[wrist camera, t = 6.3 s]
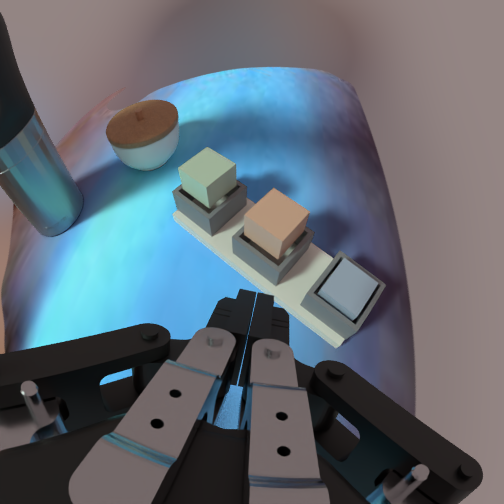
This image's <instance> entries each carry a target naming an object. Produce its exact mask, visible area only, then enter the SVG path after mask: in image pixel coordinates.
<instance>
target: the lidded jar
mask: <svg viewBox="0 0 504 504" xmlns="http://www.w3.org/2000/svg"><path fill="white" fill-rule="evenodd" d="M106 135H107V138H108V140H109V142H110V144H111V146H112V148H113V150H114V152H115V154H116V155H117V157H118V158H119V159H120V160H121V161H122V162H123V163H124V164H126V165H127V166H129V167H131V168H134V169H139V170H142V171H150V170H154V169H157V168H159V167H161V166H163V165H164V164H165V163H166V162H167V161H168V159H169V158H170V157H171V156H172V154H173V153H174V151H175V149H176V147H177V144H178V141H179V122H178V111H177V109H176V107H175V106H174V105H173V104H171V103H170V102H167V101H163V100H147V101H142V102H138V103H135V104H133V105H130V106H128V107H126V108H125V109H123V110H121V111H120V112H118V113H117V114H116V115H115V116H114V117H113V118H112V119H111V120H110V122H109V124H108V126H107V129H106Z"/></svg>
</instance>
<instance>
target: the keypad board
mask: <svg viewBox="0 0 504 504" xmlns="http://www.w3.org/2000/svg"><path fill="white" fill-rule="evenodd" d="M172 193H173V196H174V200H175V203H176V207H177V209H178V210H177V211H176V212H174V213H173V217H174V220H175V222H177V223H178V224H179V225H180V226H182V227H183V228H184V229H185V230H186V231H188V232H189V233H190V234H191V235H193V236H194V237H195V238H196V239H197V240H199V241H200V242H201V243H202V244H204V245H205V246H206V247H207V248H208V249H210V250H211V251H212V252H213V253H215V254H216V255H217V256H218V257H220V258H221V259H222V260H223V261H225V262H226V263H227V264H228V265H230V266H231V267H232V268H233V269H235V270H236V271H237V272H238V273H240V274H241V275H242V276H243V277H245V278H246V279H247V280H248V281H250V282H251V283H252V284H253V285H255V286H256V287H257V288H258V289H260V290H261V291H262V292H264V293H265V294H269V295H274V301H275V302H276V303H278V304H279V305H280V306H281V307H283V308H284V309H285V310H287V311H288V312H289V313H290V314H292V315H293V316H294V317H296V318H297V319H298V320H299V321H301V322H302V323H303V324H305V325H306V326H307V327H309V328H310V329H311V330H312V331H314V332H315V333H316V334H318V335H319V336H320V337H322V338H323V339H324V340H326V341H327V342H328V343H329V344H331V345H332V346H333V347H335V348H337V347H339V346H340V345H341V344H342V342H343V341H344V340H346V339H347V338H349V337H350V336H352V335H353V334H355V333H356V332H357V331H358V330H359V328H360V327H361V325H362V324H363V322H364V320H365V319H366V317H367V316H368V314H369V313H370V311H371V309H372V308H373V306H374V305H375V303H376V301H377V300H378V298H379V296H380V295H381V293H382V291H383V290H384V288H385V286H386V284H384V283H383V282H382V281H380V280H379V279H378V278H376V277H375V276H374V275H372V274H371V273H370V272H368V271H367V270H366V269H364V268H363V267H362V266H360V265H359V264H358V263H356V262H355V261H354V260H352V259H351V258H350V257H348V256H347V255H345V254H344V253H343V252H341V251H339V252H338V253H337V255H336V256H335V257H334V259H333V258H332V257H331V256H329V255H328V254H327V253H325V252H324V251H322V250H321V249H320V248H318V247H317V246H316V245H314V244H313V243H311V241H312V238H313V236H314V233H315V232H313V231H312V230H310V229H309V228H308V227H306V226H305V229H304V232H303V233H302V234H301V235H300V236H299V237H298V238H297V240H296V241H295V242H294V243H293V244H292V245H291V246H290V247H289V248H288V249H287V251H286V252H285V253H284V254H283V255H282V256H281V257H280V258H279V259H276V258H275V257H274V256H272V255H271V254H270V253H268V252H267V251H266V250H264V249H263V248H262V247H260V246H259V245H258V244H256V243H255V242H253V241H252V240H251V239H249V238H248V237H247V236H245V235H244V214H245V213H247V212H248V211H249V210H250V209H251V208H252V207H253V206H254V205H255V203H254V202H252V201H251V200H250V199H248V198H247V186H245V185H244V184H242V183H241V182H239V181H238V180H236V186H235V187H234V188H233V189H232V190H230V191H229V192H228V193H227V194H226V195H224V196H223V197H222V198H221V199H220V200H219V201H217V202H216V203H215V204H214V205H213V206H212V207H210V208H208V207H207V206H205V205H204V204H203V203H201V202H200V201H199V200H197V199H196V198H194V197H193V196H192V195H190V194H189V193H188V192H186V191H185V190H184V189H183V188H182V184H181V185H180V186H178V187H177V188H176V189H175V190H173V191H172ZM344 258H346V259H347V260H348V261H350V262H351V263H352V264H354V265H355V266H356V267H358V268H359V269H360V270H362V271H363V272H364V273H366V274H367V275H368V276H370V277H371V278H372V279H374V280H375V281H376V282H378V285H377V286H376V288H375V290H374V291H373V293H372V295H371V296H370V298H369V299H368V301H367V302H366V304H365V306H364V307H363V309H362V310H361V312H360V313H359V315H358V316H357V317H356V318H355V319H354V320H353V321H350V320H349V319H347V318H346V317H345V316H343V315H342V314H341V313H340V312H338V311H337V310H336V309H334V308H333V307H332V306H330V305H329V304H328V303H326V302H325V301H324V300H322V299H321V298H320V297H318V296H317V294H318V292H319V291H320V289H321V288H322V287H323V285H324V284H325V283H326V281H327V280H328V279H329V277H330V276H331V275H332V273H333V272H334V271H335V269H336V268H337V267H338V265H339V264H340V263H341V261H342V260H343V259H344Z"/></svg>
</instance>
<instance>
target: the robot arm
mask: <svg viewBox="0 0 504 504" xmlns="http://www.w3.org/2000/svg"><path fill="white" fill-rule="evenodd" d="M0 186H1V187H2V189H3V190H4V191H5V193H6V194H7V195H8V196H9V198H10V199H11V200H12V201H13V203H14V204H15V205H16V206H17V207H18V209H19V210H20V211H21V212H22V213H23V215H24V216H25V217H26V218H27V219H28V221H29V222H30V223H31V224H32V225H33V226H34V227H35V228H36V230H37V231H38V232H39V233H40V234H42V235H44V236H55V235H58V234H60V233H62V232H64V231H65V230H67V229H68V228H69V227H70V226H71V225H72V224H73V223H74V222H75V221H76V219H77V218H78V216H79V214H80V212H81V210H82V206H83V196H82V194H81V192H80V190H79V189H78V187H77V185H76V184H75V182H74V180H73V179H72V177H71V175H70V173H69V171H68V170H67V168H66V166H65V164H64V163H63V161H62V159H61V157H60V155H59V154H58V152H57V150H56V148H55V146H54V144H53V142H52V140H51V139H50V137H49V135H48V133H47V131H46V129H45V127H44V125H43V123H42V121H41V119H40V117H39V115H38V113H37V111H36V109H35V107H34V104H33V102H32V100H31V98H30V95H29V93H28V91H27V88H26V86H25V83H24V81H23V78H22V76H21V74H20V71H19V68H18V66H17V62H16V59H15V56H14V52H13V49H12V45H11V41H10V38H9V34H8V30H7V27H6V24H5V21H4V19H3V16H2V14H1V13H0ZM255 297H256V292H253V291H248V290H243V289H240V290H239V293H238V295H237V298H236V299H232V298H228V297H225V298H223V299H221V300H220V301H218V303H217V305H216V307H215V309H214V311H213V313H212V315H211V317H210V319H209V322H208V324H207V326H206V328H203V329H200V330H198V331H197V332H196V333H195V335H194V336H193V337H192V339H188V340H177V339H170V337H171V336H170V333H169V331H168V330H167V329H166V328H164V327H162V326H160V325H157V324H151V323H145V324H139V325H135V326H131V327H127V328H123V329H118V330H114V331H110V332H106V333H101V334H97V335H93V336H88V337H84V338H79V339H74V340H70V341H65V342H60V343H56V344H51V345H46V346H41V347H36V348H31V349H26V350H20V351H15V352H10V353H4V354H0V504H458V503H460V502H461V501H462V500H463V499H464V498H466V497H467V496H468V495H469V494H470V493H471V492H473V491H474V490H475V489H476V488H477V487H478V486H479V485H480V484H481V482H482V478H483V472H482V469H481V466H480V465H479V463H478V462H477V461H476V460H475V459H473V458H472V457H471V456H469V455H468V454H466V453H465V452H463V451H462V450H461V449H459V448H458V447H456V446H455V445H453V444H452V443H450V442H449V441H448V440H446V439H445V438H444V437H442V436H441V435H439V434H438V433H437V432H435V431H434V430H432V429H431V428H430V427H428V426H427V425H425V424H424V423H423V422H421V421H420V420H418V419H417V418H416V417H414V416H413V415H412V414H410V413H409V412H408V411H406V410H405V409H404V408H402V407H401V406H399V405H398V404H397V403H395V402H394V401H393V400H391V399H390V398H389V397H387V396H386V395H385V394H383V393H382V392H381V391H379V390H378V389H377V388H375V387H374V386H373V385H372V384H370V383H369V382H368V381H366V380H365V379H364V378H362V377H361V376H360V375H358V374H357V373H356V372H355V371H353V370H352V369H351V368H349V367H348V366H346V365H345V364H343V363H340V362H337V361H331V360H327V361H322V362H319V363H318V364H317V365H316V366H315V368H313V367H310V366H307V365H305V364H303V363H301V362H299V361H297V360H296V359H295V358H294V354H293V351H292V349H291V348H290V347H289V315H288V313H287V312H286V310H285V309H283V308H278V307H273V304H274V295H269V294H264V293H259V292H258V294H257V298H256V303H255V307H254V302H255ZM253 307H254V312H253ZM252 312H253V317H252ZM251 317H252V321H251ZM250 322H251V325H250ZM249 327H250V330H249ZM248 332H249V334H248ZM247 337H248V339H247ZM246 341H247V344H246ZM245 346H246V349H245ZM244 350H245V354H244ZM243 354H244V359H243ZM242 359H243V364H242V369H241V374H240V379H239V384H238V386H241V387H243V391H242V396H241V400H240V407H239V417H238V428H237V429H223V428H220V427H217V426H215V425H216V423H217V420H218V418H219V415H220V413H221V410H222V407H223V405H224V402H225V399H226V394H227V393H228V391H229V388H230V385H236V384H237V380H238V376H239V372H240V367H241V363H242ZM130 368H132V376H130V377H127V378H123V379H120V380H117V381H114V382H110V383H107V384H103V385H100V381H101V380H102V379H103V378H104V377H105V376H107V375H110V374H114V373H117V372H120V371H124V370H127V369H130ZM338 413H340V414H341V415H342V416H343V417H344V418H345V419H346V420H348V421H349V422H350V423H351V424H352V425H353V426H354V427H356V428H357V430H358V431H359V433H360V439H358V438H357V437H356V436H355V435H354V434H353V433H351V432H350V431H349V430H348V429H347V428H346V427H345V426H344V425H342V424H341V423H340V422H339V421H338V420H337V419H336V417H337V415H338Z"/></svg>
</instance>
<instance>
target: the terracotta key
mask: <svg viewBox="0 0 504 504" xmlns="http://www.w3.org/2000/svg"><path fill="white" fill-rule="evenodd" d="M309 213H310V211H308V210H307V209H305V208H304V207H302V206H301V205H299V204H298V203H296V202H295V201H293V200H292V199H290V198H289V197H287V196H286V195H284V194H282V193H281V192H279V191H278V190H276V189H275V188H273V189H272V190H271V191H270V192H268V193H267V194H266V195H265V196H264V197H263V198H262V199H261V200H260V201H259V202H257V203H256V204H255V205H254V206H253V207H252V208H251V209H250V210H249V211H248V212H247V213H245V214H244V235H245V236H247V237H248V238H249V239H251V240H252V241H253V242H255V243H256V244H258V245H259V246H260V247H262V248H263V249H264V250H266V251H267V252H268V253H270V254H271V255H272V256H274V257H275V258H276V259H279V258H280V257H281V256H282V255H283V254H284V253H285V252H286V251H287V249H288V248H289V247H290V246H291V245H292V244H293V243H294V242H295V241H296V240H297V238H298V237H299V236H300V235H301V234H302V233H303V232H304V229H305V226H306V223H307V220H308V216H309Z"/></svg>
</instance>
